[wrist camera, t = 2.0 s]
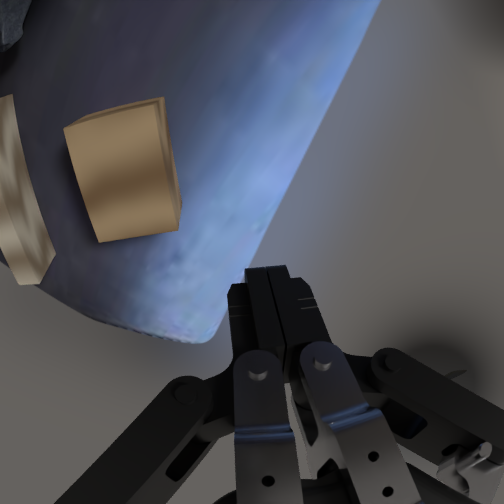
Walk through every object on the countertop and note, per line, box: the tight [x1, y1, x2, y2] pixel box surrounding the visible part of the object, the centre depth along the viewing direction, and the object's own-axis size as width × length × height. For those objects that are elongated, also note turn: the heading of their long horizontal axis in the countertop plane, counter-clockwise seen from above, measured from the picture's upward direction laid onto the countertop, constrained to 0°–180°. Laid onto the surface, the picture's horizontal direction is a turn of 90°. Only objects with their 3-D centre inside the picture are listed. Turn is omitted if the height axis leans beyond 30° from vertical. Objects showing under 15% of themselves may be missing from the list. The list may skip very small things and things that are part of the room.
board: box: [0, 94, 56, 285], centre depth 21 cm, size 18×3×5 cm, turn 0°
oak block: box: [63, 97, 182, 243], centre depth 22 cm, size 10×7×5 cm
